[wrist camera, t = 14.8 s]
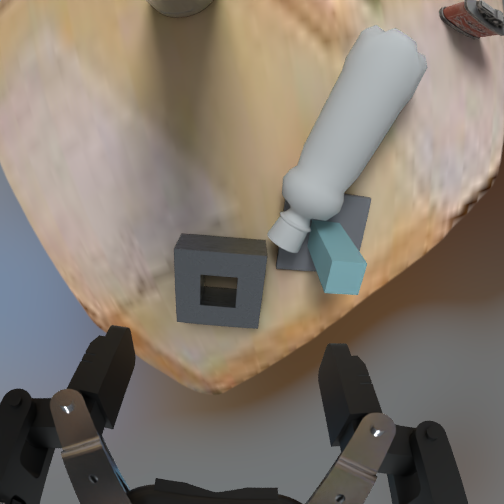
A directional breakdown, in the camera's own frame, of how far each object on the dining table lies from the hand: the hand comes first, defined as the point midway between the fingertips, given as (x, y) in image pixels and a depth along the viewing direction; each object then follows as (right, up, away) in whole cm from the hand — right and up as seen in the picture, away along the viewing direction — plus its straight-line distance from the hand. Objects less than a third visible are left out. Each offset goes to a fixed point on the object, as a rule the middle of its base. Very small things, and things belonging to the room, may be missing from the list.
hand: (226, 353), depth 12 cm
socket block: (-4, +1, +35) cm, 35 cm away
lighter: (+32, +39, +17) cm, 53 cm away
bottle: (+11, +19, +26) cm, 34 cm away
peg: (+11, +6, +32) cm, 34 cm away
